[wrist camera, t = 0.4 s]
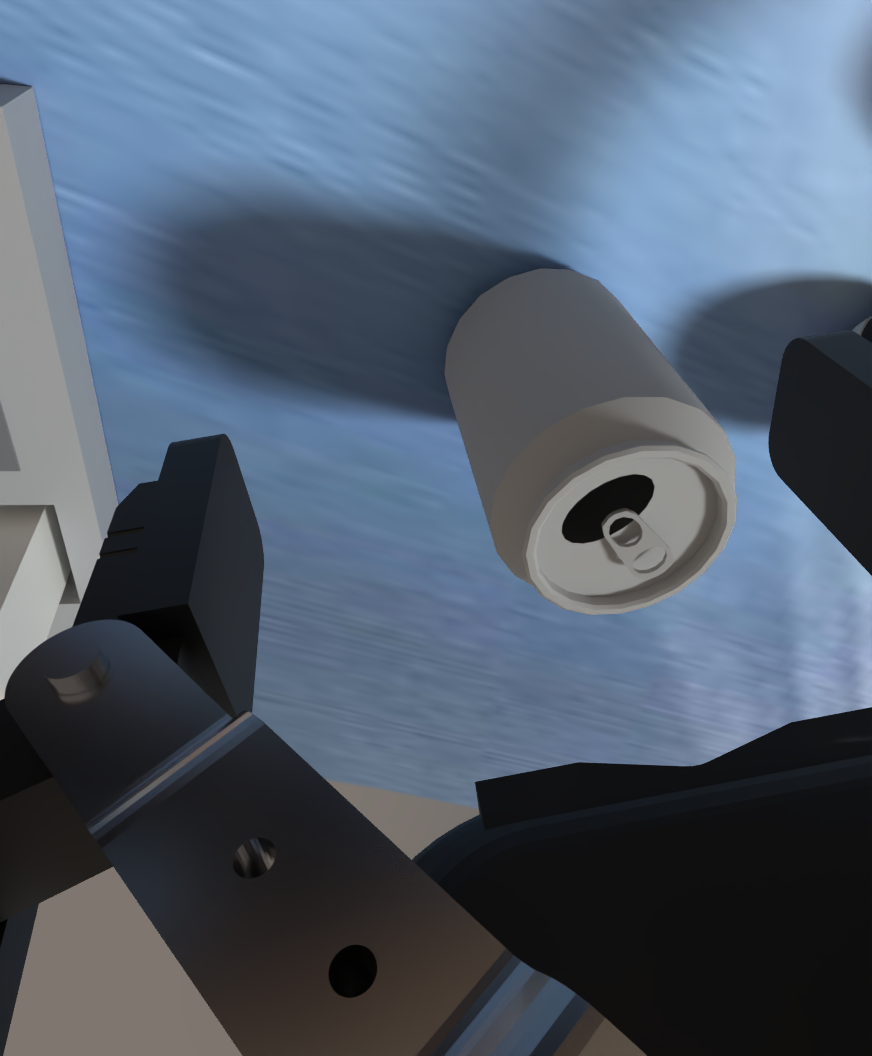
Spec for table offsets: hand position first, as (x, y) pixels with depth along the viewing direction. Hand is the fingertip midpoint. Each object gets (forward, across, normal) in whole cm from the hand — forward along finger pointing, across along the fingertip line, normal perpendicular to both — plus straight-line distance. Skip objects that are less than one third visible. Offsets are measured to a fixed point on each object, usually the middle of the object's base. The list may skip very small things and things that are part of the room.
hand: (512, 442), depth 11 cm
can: (+19, -4, +7) cm, 21 cm away
